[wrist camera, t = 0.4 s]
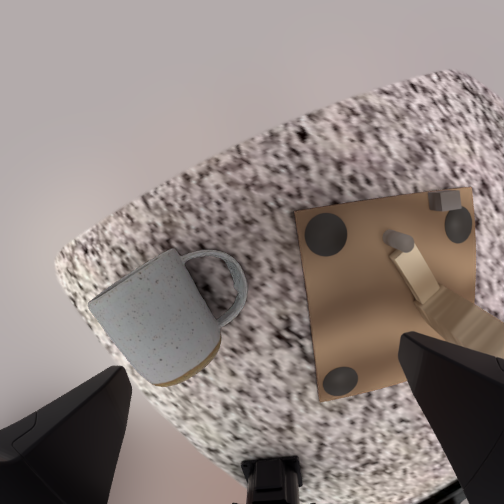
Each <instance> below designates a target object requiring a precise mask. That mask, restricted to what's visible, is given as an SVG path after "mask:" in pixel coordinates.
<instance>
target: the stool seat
mask: <svg viewBox="0 0 504 504" xmlns="http://www.w3.org/2000/svg"><path fill="white" fill-rule="evenodd" d="M294 216H295V222H296V228H297V235H298V241H299V247H300V253H301V260H302V267H303V273H304V280H305V287H306V295H307V302H308V309H309V317H310V325H311V333H312V341H313V350H314V359H315V368H316V378H317V387H318V396H319V401H320V402H324V401H330V400H335V399H339V398H344V397H349V396H353V395H357V394H362V393H366V392H370V391H374V390H377V389H381V388H385V387H389V386H392V385H396V384H399V383H402V382H406V381H407V379H406V376H405V374H404V372H403V370H402V367H401V365H400V363H399V360H398V350H399V343H400V337H401V335H402V334H403V333H406V332H410V331H415V332H418V333H421V334H424V335H427V336H430V337H434V338H437V339H440V340H443V341H446V340H445V339H444V338H443V337H441V336H440V335H439V334H438V333H437V332H436V331H435V330H434V329H433V328H431V327H430V326H429V325H428V324H427V323H426V322H425V320H424V318H423V317H422V315H421V313H420V312H419V310H418V308H417V307H416V305H415V303H414V301H415V300H416V298H415V297H414V295H413V293H412V292H411V290H410V288H409V287H408V285H407V284H406V282H405V280H404V279H403V277H402V276H401V274H400V273H399V271H398V270H397V268H396V267H395V265H394V263H393V262H392V260H391V259H390V257H389V256H390V255H391V254H392V253H393V252H394V251H395V250H397V249H398V250H400V251H402V252H404V253H408V252H410V251H412V249H413V248H414V243H415V245H416V247H417V248H418V250H419V251H420V253H421V255H422V256H423V258H424V260H425V262H426V263H427V265H428V267H429V269H430V270H431V272H432V274H433V276H434V277H435V279H436V281H437V282H438V283H439V284H441V285H443V286H444V287H446V288H448V289H450V290H451V291H453V292H455V293H456V294H458V295H460V296H461V297H463V298H465V299H466V300H468V301H470V302H471V303H473V304H474V299H475V279H476V239H475V219H474V206H473V196H472V187H461V188H452V189H444V190H436V191H428V192H420V193H412V194H404V195H397V196H390V197H383V198H376V199H369V200H362V201H355V202H348V203H342V204H335V205H329V206H323V207H316V208H310V209H304V210H298V211H294ZM446 342H447V341H446Z"/></svg>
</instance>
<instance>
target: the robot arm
mask: <svg viewBox="0 0 504 504" xmlns="http://www.w3.org/2000/svg"><path fill="white" fill-rule="evenodd" d="M398 360H399V363H400V365H401V367H402V370H403V372H404V374H405V376H406V379H407V381H408V383H409V386H410V388H411V390H412V393H413V395H414V397H415V398H416V400H417V402H418V404H419V406H420V407H421V409H422V411H423V413H424V415H425V416H426V418H427V420H428V422H429V424H430V426H431V427H432V429H433V431H434V433H435V435H436V437H437V439H438V441H439V442H440V444H441V446H442V448H443V450H444V452H445V454H446V456H447V458H448V460H449V462H450V464H451V466H452V468H453V470H454V472H455V474H456V476H457V478H458V480H459V482H460V484H461V487H462V489H464V490H463V491H464V493H465V496H466V498H467V500H468V502H469V504H504V359H503V358H499V357H495V356H492V355H489V354H486V353H482V352H479V351H476V350H472V349H469V348H466V347H462V346H459V345H456V344H453V343H449V342H446V341H443V340H440V339H437V338H434V337H430V336H427V335H424V334H421V333H418V332H415V331H410V332H406V333H403V334H402V335H401V337H400V343H399V350H398ZM131 395H132V386H131V383H130V381H129V378H128V375H127V373H126V370H125V368H124V367H123V366H111V367H109V368H107V369H105V370H104V371H102V372H101V373H99V374H97V375H96V376H94V377H92V378H91V379H89V380H87V381H86V382H84V383H82V384H81V385H79V386H78V387H76V388H74V389H73V390H71V391H69V392H68V393H66V394H64V395H63V396H61V397H59V398H57V399H56V400H54V401H52V402H51V403H49V404H47V405H46V406H44V407H42V408H41V409H39V410H38V411H35V412H34V413H32V414H30V415H29V416H27V417H25V418H23V419H21V420H20V421H18V422H16V423H14V424H12V425H10V426H8V427H6V428H3V429H1V430H0V504H107V502H108V498H109V493H110V489H111V485H112V481H113V477H114V472H115V468H116V464H117V461H118V457H119V453H120V449H121V445H122V442H123V438H124V434H125V430H126V426H127V420H128V413H129V407H130V401H131ZM241 468H242V470H243V473H244V475H245V478H246V481H247V483H248V489H247V501H246V504H300V503H299V488H298V487H301V486H302V485H303V484H302V477H301V470H300V464H299V458H298V457H296V456H293V457H285V458H276V459H266V460H253V461H243V462H241ZM232 504H237V503H232ZM310 504H315V503H310Z"/></svg>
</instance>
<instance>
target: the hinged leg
mask: <svg viewBox="0 0 504 504" xmlns="http://www.w3.org/2000/svg"><path fill="white" fill-rule="evenodd" d="M389 257H390V259H391V260H392V262H393V263H394V265H395V267H396V268H397V270H398V271H399V273H400V274H401V276H402V277H403V279H404V280H405V282H406V284H407V285H408V287H409V288H410V290H411V292H412V293H413V295H414V297H415V298H416V300H415V301H414V303H415V305H416V307H417V308H418V310H419V312H420V313H421V315H422V317H423V318H424V320H425V322H426V323H427V324H428V325H429V326H430V327H431V328H433V329H434V330H435V331H436V332H437V333H438V334H439V335H440V336H441V337H443V338H444V339H445V340H446V341H447V342H449V343H453V344H456V345H459V346H462V347H466V348H469V349H472V350H476V351H479V352H482V353H486V354H489V355H492V356H495V357H499V358H503V359H504V323H503V322H502V321H500V320H499V319H497V318H496V317H494V316H492V315H491V314H489V313H488V312H486V311H484V310H483V309H481V308H480V307H478V306H476V305H475V304H473V303H471V302H470V301H468V300H466V299H465V298H463V297H461V296H460V295H458V294H456V293H455V292H453V291H451V290H450V289H448V288H446V287H444V286H443V285H441V284H439V283H438V282H437V281H436V279H435V277H434V276H433V274H432V272H431V270H430V269H429V267H428V265H427V263H426V262H425V260H424V258H423V256H422V255H421V253H420V251H419V250H418V248H417V247H416V245H415V243H414V248H413V249H412V251H410V252H408V253H404V252H402V251H400V250H398V249H397V250H395V251H394V252H393V253H392V254H391V255H390V256H389Z"/></svg>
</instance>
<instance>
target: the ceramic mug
mask: <svg viewBox="0 0 504 504" xmlns="http://www.w3.org/2000/svg"><path fill="white" fill-rule="evenodd" d="M203 256H214V257H218V258H221V259H223V260H224V261H225V262H226V264H227V266H228V268H229V270H230V273H231V275H232V277H233V280H234V288H235V289H236V290H237V291H238V295H237V297H236V300H235V302H234V304H233V306H232V307H230V309H229V310H228V311H227V312H226V313H225V314H224V315H223V316H221V317H220V318H218V319H215V318H214V316H213V315H212V313H211V311H210V310H209V308H208V306H207V304H206V302H205V300H204V299H203V298H202V297H201V295H200V293H199V291H198V289H197V287H196V285H195V283H194V281H193V279H192V278H191V276H190V274H189V272H188V270H187V268H186V267H185V262H186V261H187V260H190V259H192V258H197V257H203ZM247 291H248V286H247V280H246V277H245V274H244V272H243V270H242V268H241V266H240V265H239V263H238V262H237V261H236V260H235V259H234V258H233V257H232V256H230V255H228V254H227V253H224V252H221V251H217V250H200V251H195V252H191V253H188V254H185V255H183V256H180V255H179V254H178V252H177V251H176V250H175V249H170V250H167V251H166V252H164V253H162V254H160V255H159V256H157V257H155V258H154V259H152V260H150V261H148V262H147V263H145V264H143V265H142V266H140V267H138V268H137V269H135V270H134V271H132V272H131V273H129V274H128V275H126V276H124V277H123V278H121V279H120V280H118V281H117V282H115V283H114V284H112V285H111V286H110V287H108V288H107V289H105V290H104V291H103V292H101V293H100V294H99V295H97V296H96V297H95V298H93V299H92V300H91V301H90V302H89V303H88V307H89V310H90V311H91V312H92V314H93V315H94V317H95V318H96V319H97V321H98V322H99V323H100V325H101V326H102V328H103V329H104V330H105V332H106V333H107V334H108V336H109V337H110V338H111V340H112V341H113V342H114V344H115V345H116V346H117V347H118V349H119V350H120V351H121V352H122V353H123V355H124V356H125V357H126V359H127V360H128V361H129V362H130V364H131V365H132V366H133V367H134V368H135V370H136V371H137V372H138V373H139V374H140V375H141V376H143V377H144V378H145V379H146V380H147V381H149V382H150V383H151V384H153V385H155V386H161V387H167V386H172V385H176V384H179V383H181V382H183V381H186V380H187V379H189V378H190V377H192V376H194V375H195V374H197V373H198V372H200V371H201V370H202V369H203V368H204V367H206V366H207V365H208V364H209V363H210V362H211V361H212V359H213V358H214V357H215V355H216V354H217V352H218V350H219V348H220V344H221V333H220V328H221V327H223V326H225V325H227V324H228V323H229V322H231V321H232V320H233V319H234V318H235V317H236V316H237V315H238V314H239V313H240V311H241V310H242V309H243V307H244V305H245V301H246V298H247Z"/></svg>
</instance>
